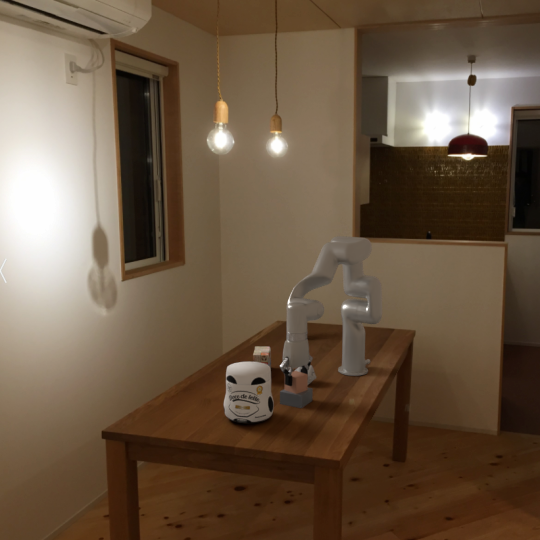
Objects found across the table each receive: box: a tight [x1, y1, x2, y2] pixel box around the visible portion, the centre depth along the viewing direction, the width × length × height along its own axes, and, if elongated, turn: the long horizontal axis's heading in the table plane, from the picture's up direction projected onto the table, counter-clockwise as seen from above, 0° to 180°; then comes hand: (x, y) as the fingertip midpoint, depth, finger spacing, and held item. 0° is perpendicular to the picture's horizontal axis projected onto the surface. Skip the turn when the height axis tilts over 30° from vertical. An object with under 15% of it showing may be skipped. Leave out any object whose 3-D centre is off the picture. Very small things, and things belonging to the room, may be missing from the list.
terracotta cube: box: [284, 370, 309, 394], centre depth 233 cm, size 6×6×6 cm
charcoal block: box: [279, 387, 313, 409], centre depth 234 cm, size 9×9×5 cm
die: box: [294, 365, 317, 385], centre depth 255 cm, size 8×9×10 cm
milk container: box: [223, 361, 275, 425], centre depth 218 cm, size 17×17×18 cm
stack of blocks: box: [252, 346, 272, 370], centre depth 265 cm, size 21×6×12 cm, turn 177°
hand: (296, 382), depth 233 cm, fingers open, 7 cm apart
